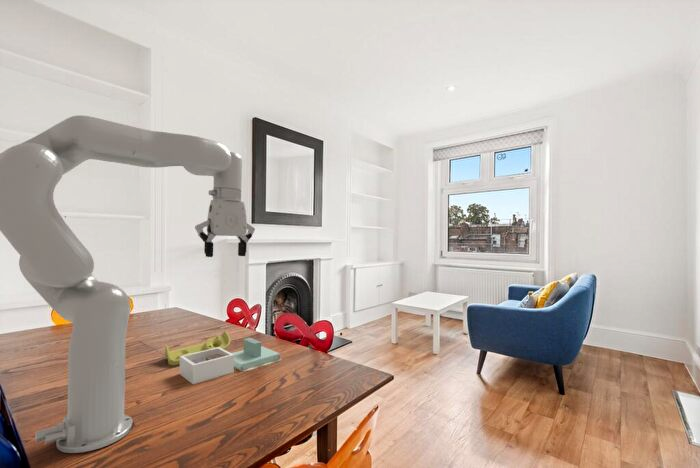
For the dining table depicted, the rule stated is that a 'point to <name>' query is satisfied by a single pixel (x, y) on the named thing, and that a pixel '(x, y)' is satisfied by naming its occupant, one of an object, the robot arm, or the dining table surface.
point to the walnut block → (213, 357)
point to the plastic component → (197, 348)
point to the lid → (253, 355)
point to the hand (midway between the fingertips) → (226, 256)
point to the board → (259, 365)
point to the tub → (206, 365)
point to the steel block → (198, 360)
